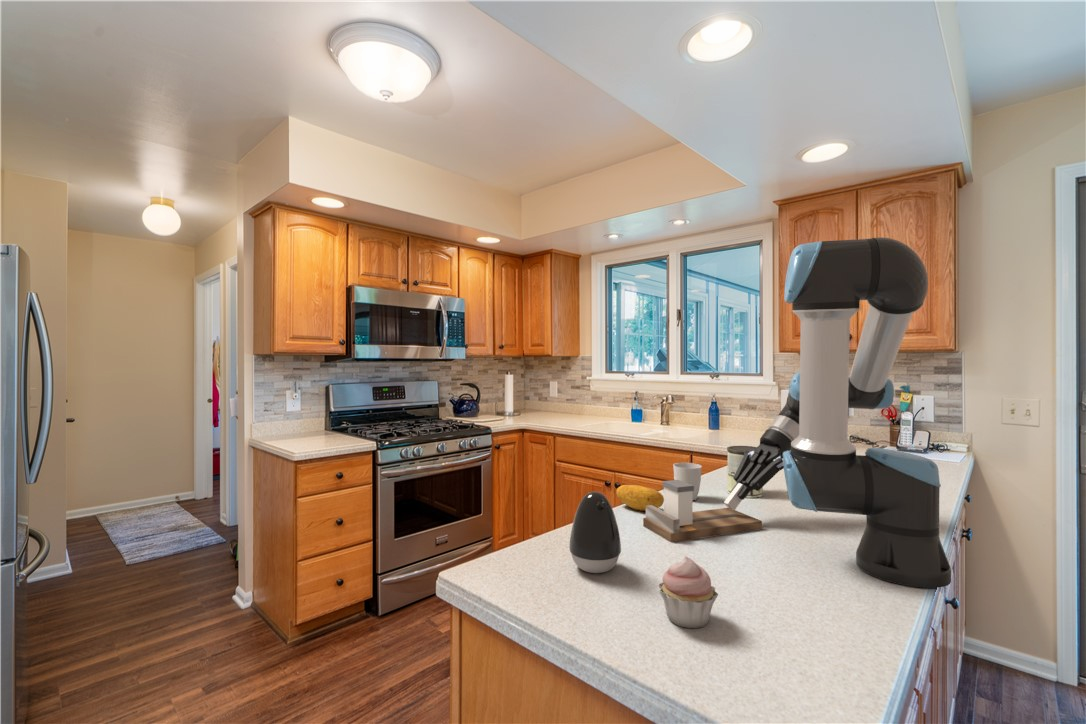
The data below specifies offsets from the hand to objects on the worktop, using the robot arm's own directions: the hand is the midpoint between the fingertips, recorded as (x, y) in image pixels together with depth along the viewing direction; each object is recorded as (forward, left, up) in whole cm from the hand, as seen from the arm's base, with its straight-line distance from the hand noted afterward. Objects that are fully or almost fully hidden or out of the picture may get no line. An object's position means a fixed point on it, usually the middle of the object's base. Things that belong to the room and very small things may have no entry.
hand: (728, 506), depth 127 cm
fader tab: (-7, +13, -2) cm, 15 cm away
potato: (+9, +22, -5) cm, 24 cm away
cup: (+22, +8, -5) cm, 24 cm away
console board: (-4, +7, -4) cm, 9 cm away
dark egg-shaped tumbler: (-33, +31, -5) cm, 45 cm away
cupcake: (-50, +15, -5) cm, 52 cm away
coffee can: (+31, -10, -5) cm, 33 cm away
